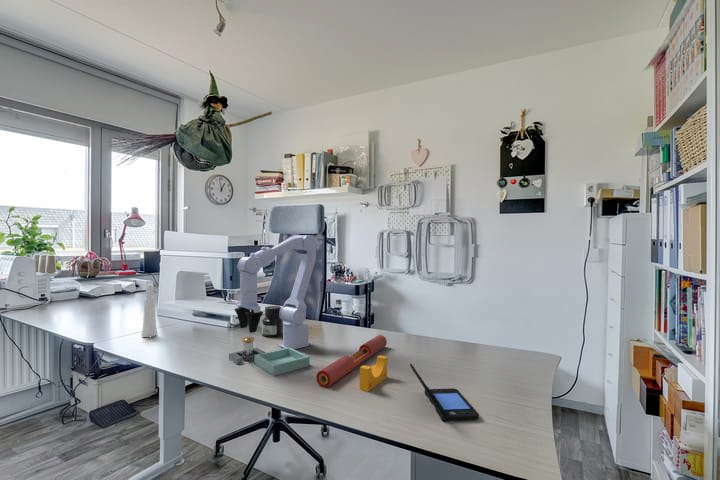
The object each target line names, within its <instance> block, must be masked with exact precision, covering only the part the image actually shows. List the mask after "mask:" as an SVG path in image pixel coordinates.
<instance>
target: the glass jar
mask: <svg viewBox="0 0 720 480" xmlns="http://www.w3.org/2000/svg"><path fill="white" fill-rule="evenodd" d="M254 341H255V338H254V337H253V336H245V337H243V338H242V343H243V346H242V347H243V349H242V351H243V354H242V355H241V357H242V358H243V362H249V361H250V362H251V361H254V360H255V354H254V353H253V348H254Z"/></svg>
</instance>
